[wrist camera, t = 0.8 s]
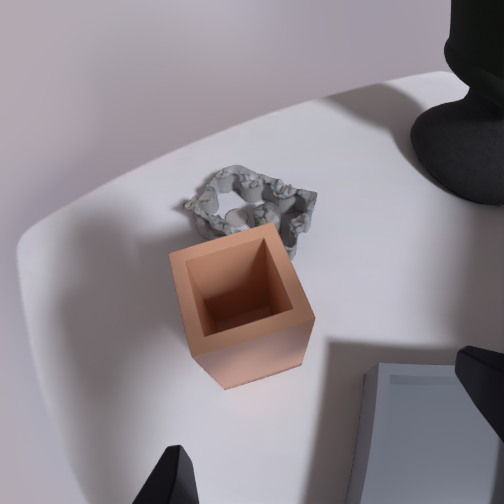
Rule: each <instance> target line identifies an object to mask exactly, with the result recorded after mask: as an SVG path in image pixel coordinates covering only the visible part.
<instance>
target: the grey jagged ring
mask: <svg viewBox="0 0 504 504" xmlns="http://www.w3.org/2000/svg"><path fill="white" fill-rule="evenodd" d="M233 189H238V190H241V196H242V199H243V200H244V201H246V202H248V203H256V202H259V201H260V200H262V199H263V198H265V199H268V200H271V202H270V201H268V202H266V203H264V204H261V205H259V206H258V207H257V208H256V209H254V210H253V216H254V219H255V227H258V226H261V225H265V224H268V223H271V222H273V223H274V225H275V227H276V230H277V232H278V234H279V233H280V229H281V215H280V214H287V213H290V212H292V211H293V210H294V209H297V210H300V211H302V212H303V213H301V214H300V215H299V216H298V217H297V218H294V219H292V220H290V222H289V245H290V247H291V248H289V247H287V246H284V247H285V249H286V252H287V254H288V256H289V258H290V261H292V260H293V258H294V256H295V255H296V246H297V237H298V234H299V233H301V232H304V233H306V232H308V230H309V228H310V223H311V215H312V212H313V210H314V206H315V202H316V198H317V193H316V192H312V191H307V190H303V189H295V188H293V187H292V186H291V185H288V186H287V185H286V184H284V183H283V181H282V180H281V179H274V178H270V177H268V176H266V175H262V174H258V173H256V172H253V171H251V170H249V169H247V168H245V167H243V166H240V165H233V166H229V167H226V168H223V169H222V170H221V171H220V172H219V173H218V174H216V175H215V176H214V178H213V180H212V181H211V182H210V183H209V184H208V183H207V184H206V186H205V189H204V193H203V194H202V195H201V196H200V198H199V199H198V198H197V197H196V196H194V197H193V198H192V199H191V200H190V201H189V203H188V204H187V203H184V204H183V208H187V210H192V211H193V214H194V217H195V220H196V223H197V229H198V231H199V233H200V235H201V236H202V237H204V238H207V239H210V238H211V237H212V236H215V235H218V234H223V235H226V236H227V235H231V229H230V226H231V227H241V226H243V225H245V224H246V223H247V221H248V214H247V213H246V212H245V211H244V210H242V209H233V210H230V211H229V212H228V213H227V214H226V216H225V220H224V219H222V218H220V216H219V215H216V216H213V214H215V213H216V212H217V210H218V208H219V204H218V199H217V195H218V194H220V193H228V192H230V191H232V190H233Z"/></svg>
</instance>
